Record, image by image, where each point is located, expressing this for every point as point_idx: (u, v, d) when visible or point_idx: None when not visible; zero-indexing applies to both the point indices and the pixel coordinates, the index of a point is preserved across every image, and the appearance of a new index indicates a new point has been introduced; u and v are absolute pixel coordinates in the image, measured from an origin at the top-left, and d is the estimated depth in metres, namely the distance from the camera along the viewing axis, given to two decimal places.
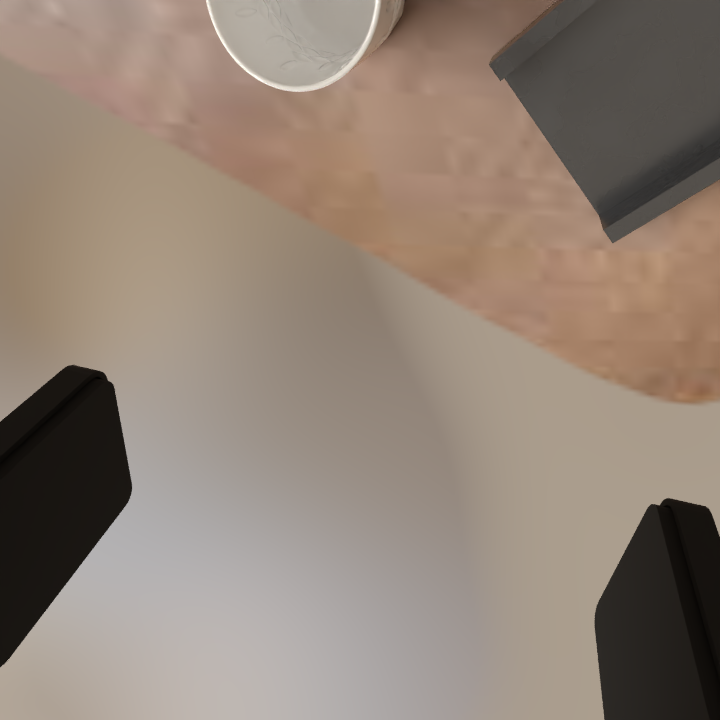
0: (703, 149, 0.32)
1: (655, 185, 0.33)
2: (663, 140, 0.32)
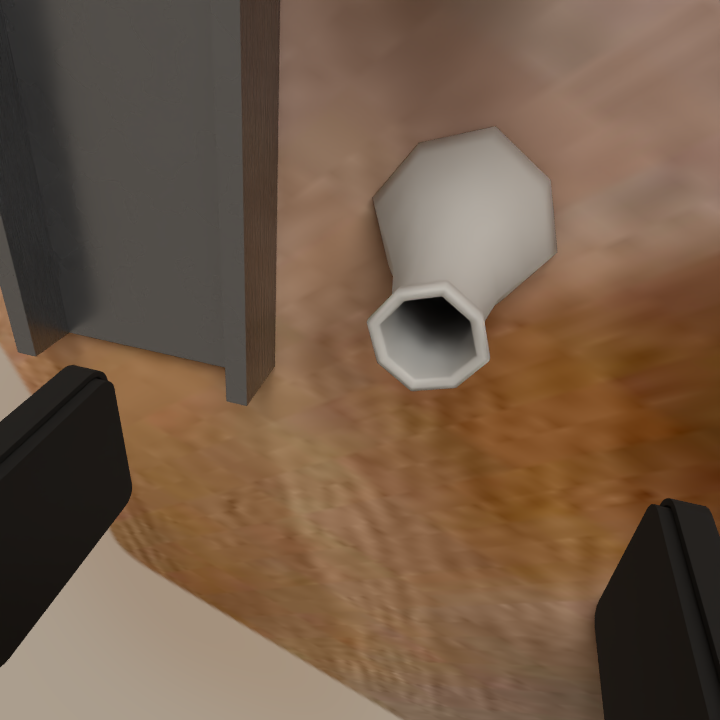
0: (5, 30, 0.23)
1: None
2: None
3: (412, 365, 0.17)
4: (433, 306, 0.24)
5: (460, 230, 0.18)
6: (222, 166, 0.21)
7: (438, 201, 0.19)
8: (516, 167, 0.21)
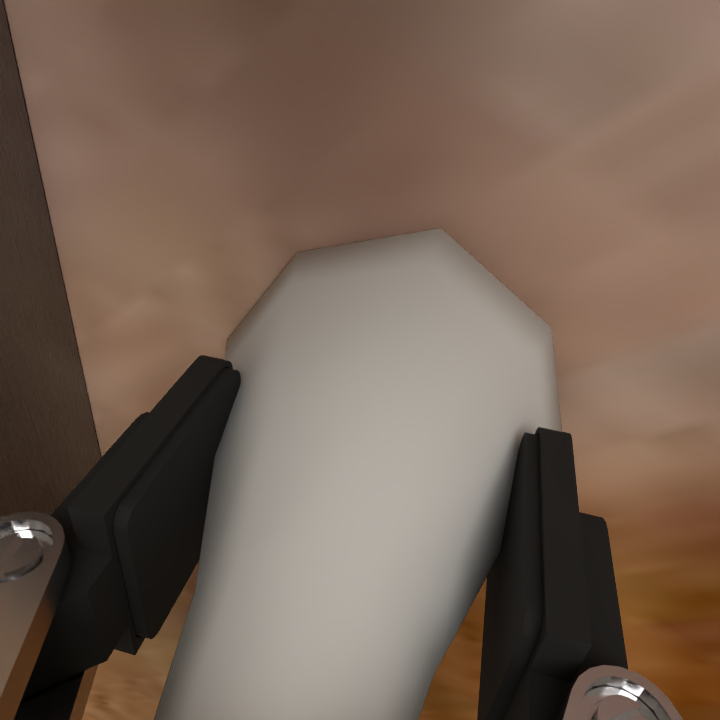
0: None
1: None
2: None
3: None
4: None
5: (333, 541, 0.07)
6: None
7: (302, 425, 0.09)
8: (482, 314, 0.10)
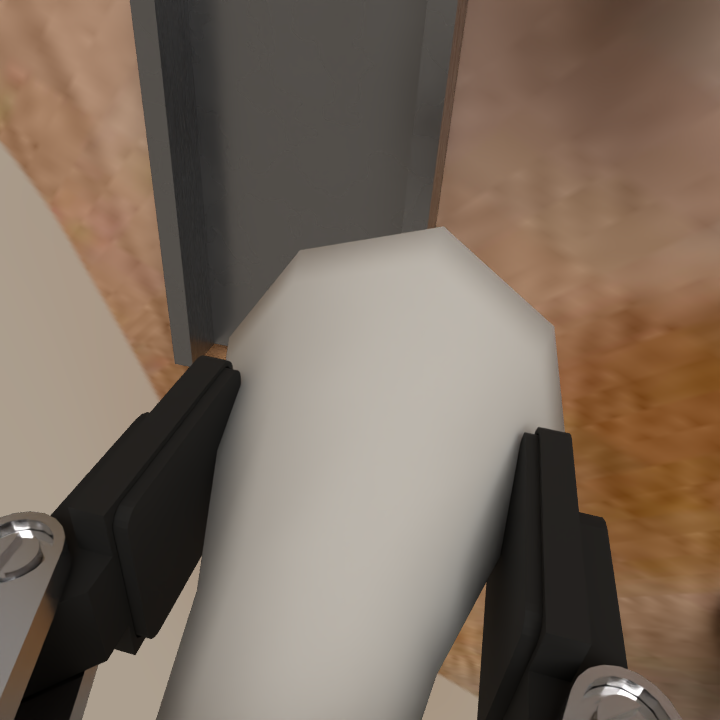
0: (191, 62, 0.25)
1: None
2: (227, 29, 0.24)
3: None
4: None
5: (336, 539, 0.07)
6: (412, 186, 0.23)
7: (305, 424, 0.09)
8: (485, 313, 0.10)
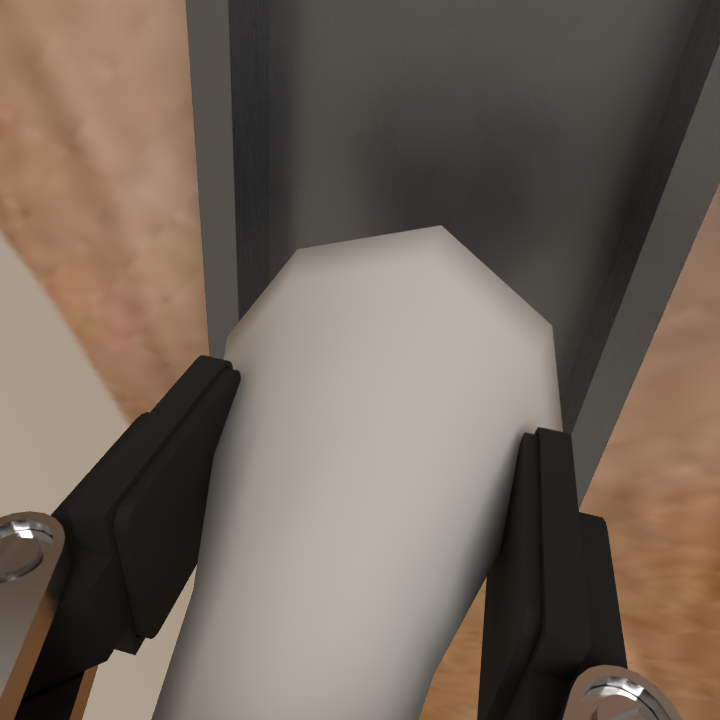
0: (268, 114, 0.16)
1: None
2: (329, 68, 0.15)
3: None
4: None
5: (332, 539, 0.07)
6: (622, 324, 0.15)
7: (301, 423, 0.09)
8: (483, 312, 0.10)
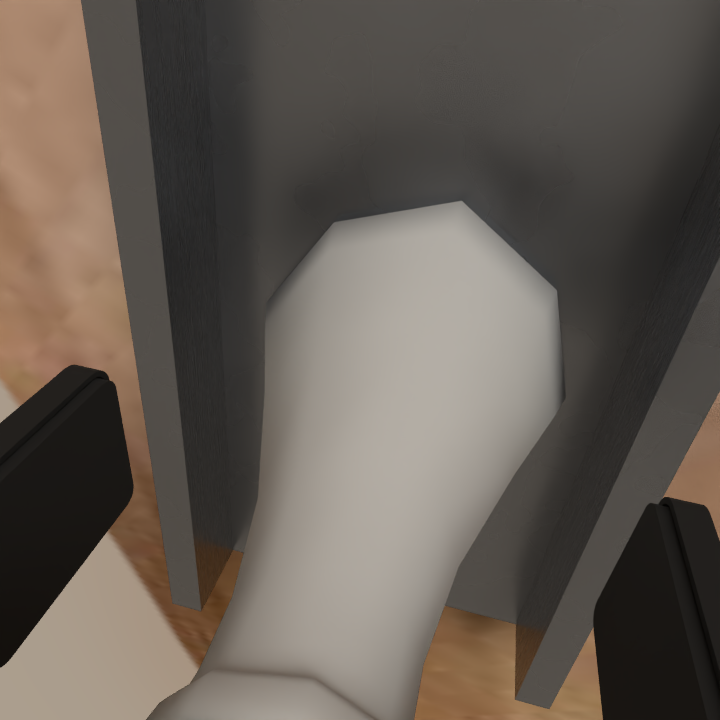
0: (211, 151, 0.13)
1: (184, 6, 0.11)
2: (284, 96, 0.12)
3: None
4: None
5: (379, 447, 0.09)
6: (654, 424, 0.11)
7: (347, 361, 0.10)
8: (498, 275, 0.12)
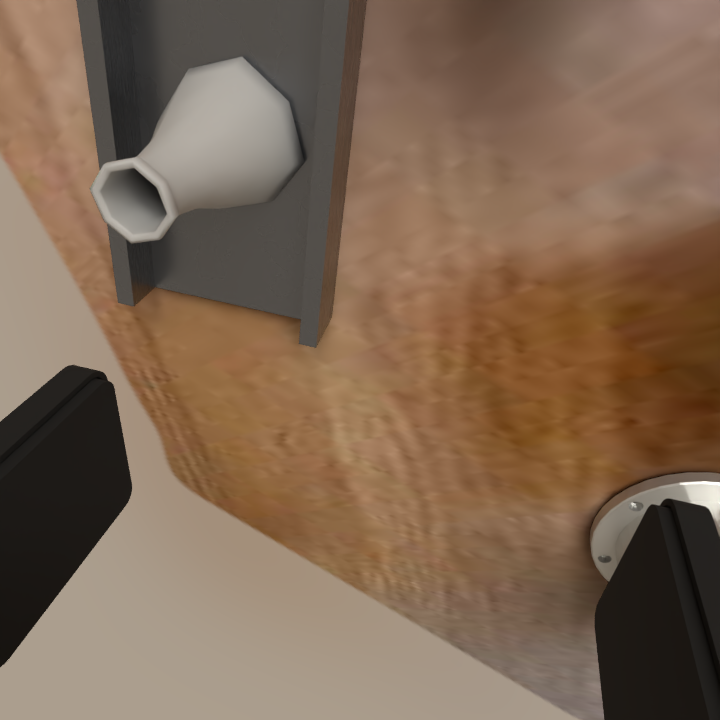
0: (130, 33, 0.28)
1: None
2: (162, 5, 0.27)
3: (134, 226, 0.23)
4: None
5: (182, 130, 0.24)
6: (317, 152, 0.27)
7: (179, 111, 0.25)
8: (256, 89, 0.27)
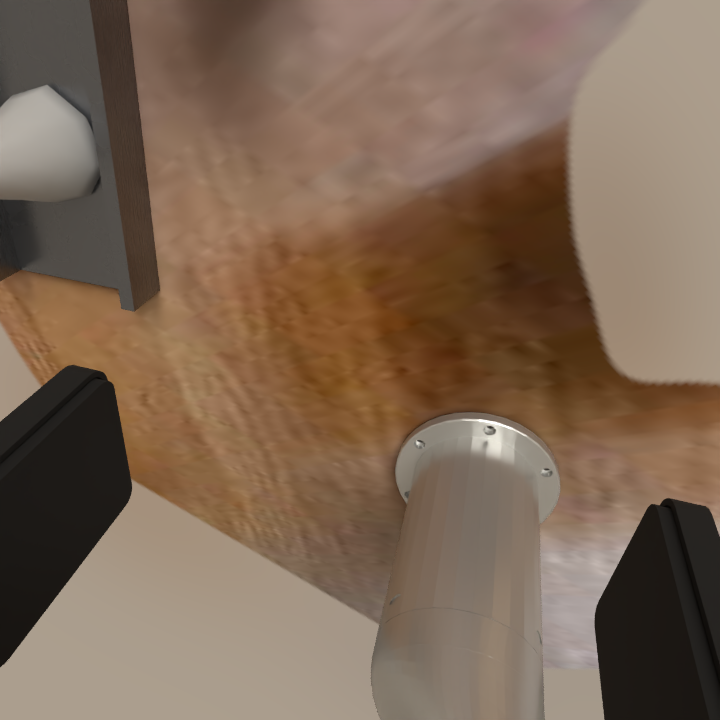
0: None
1: None
2: None
3: None
4: None
5: None
6: (100, 154, 0.36)
7: None
8: (56, 109, 0.36)
